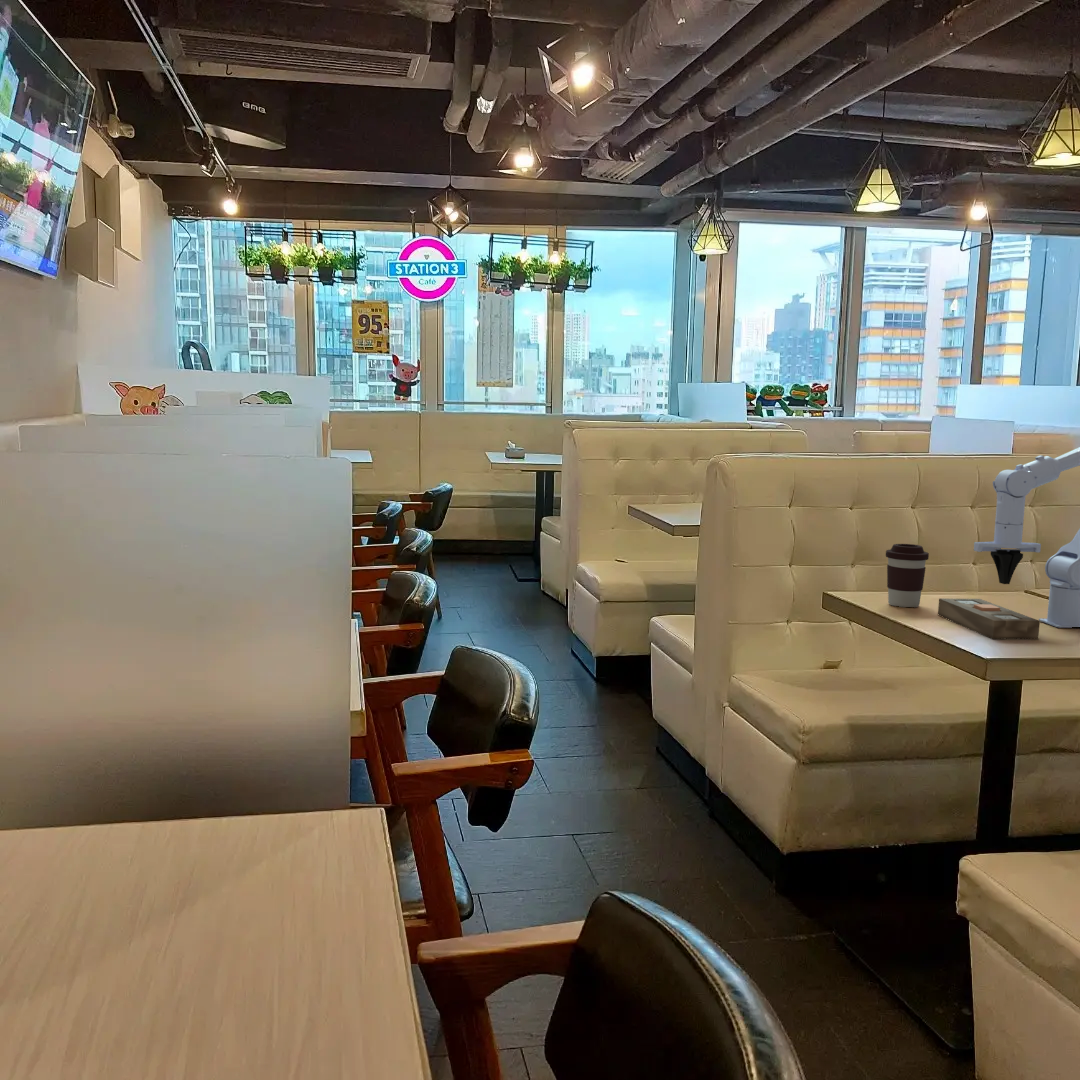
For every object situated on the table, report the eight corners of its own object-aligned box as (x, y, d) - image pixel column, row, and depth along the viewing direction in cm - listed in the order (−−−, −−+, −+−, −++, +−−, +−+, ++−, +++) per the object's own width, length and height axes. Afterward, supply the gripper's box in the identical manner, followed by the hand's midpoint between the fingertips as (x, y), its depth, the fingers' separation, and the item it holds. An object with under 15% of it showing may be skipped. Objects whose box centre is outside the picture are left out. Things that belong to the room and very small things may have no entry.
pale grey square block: (1009, 629, 217) (1010, 615, 217) (1019, 633, 213) (1020, 619, 213) (992, 628, 217) (993, 615, 217) (1001, 633, 213) (1002, 619, 213)
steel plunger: (970, 613, 234) (971, 600, 234) (979, 616, 230) (980, 604, 230) (954, 613, 234) (955, 600, 234) (962, 616, 230) (963, 603, 230)
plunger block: (978, 615, 237) (980, 598, 236) (1038, 639, 212) (1039, 620, 211) (937, 615, 236) (939, 598, 235) (992, 639, 211) (994, 620, 211)
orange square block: (989, 617, 226) (990, 604, 225) (999, 621, 222) (1000, 607, 221) (972, 617, 225) (973, 604, 225) (981, 621, 221) (982, 607, 221)
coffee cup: (898, 609, 241) (902, 548, 240) (874, 602, 251) (878, 542, 249) (933, 608, 244) (938, 547, 242) (908, 601, 254) (912, 542, 252)
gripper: (1030, 522, 228) (1025, 580, 230) (969, 521, 227) (964, 580, 229) (1048, 525, 221) (1042, 586, 223) (984, 524, 220) (980, 585, 222)
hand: (1004, 583), depth 225 cm, fingers closed
